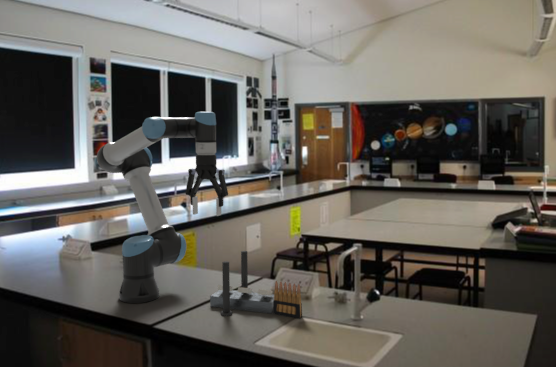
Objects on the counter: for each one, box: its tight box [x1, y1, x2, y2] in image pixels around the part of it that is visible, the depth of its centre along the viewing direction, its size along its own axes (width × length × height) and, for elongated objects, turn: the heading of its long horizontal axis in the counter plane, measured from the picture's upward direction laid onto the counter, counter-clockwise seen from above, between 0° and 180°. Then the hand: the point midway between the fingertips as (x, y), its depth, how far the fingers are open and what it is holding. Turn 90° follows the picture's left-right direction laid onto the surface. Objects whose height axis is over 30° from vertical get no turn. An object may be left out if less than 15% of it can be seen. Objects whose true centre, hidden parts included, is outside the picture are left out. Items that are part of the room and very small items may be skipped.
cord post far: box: [240, 250, 249, 288], centre depth 206 cm, size 4×4×19 cm
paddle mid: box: [237, 286, 253, 293], centre depth 199 cm, size 4×5×2 cm
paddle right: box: [257, 288, 273, 296], centre depth 196 cm, size 4×5×2 cm
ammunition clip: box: [272, 280, 303, 320], centre depth 189 cm, size 11×2×12 cm, turn 62°
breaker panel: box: [209, 289, 274, 315], centre depth 199 cm, size 24×9×4 cm, turn 71°
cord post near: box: [220, 260, 233, 317], centre depth 190 cm, size 4×4×19 cm
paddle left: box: [217, 284, 233, 291], centre depth 202 cm, size 4×5×2 cm
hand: (207, 214), depth 201 cm, fingers open, 9 cm apart
